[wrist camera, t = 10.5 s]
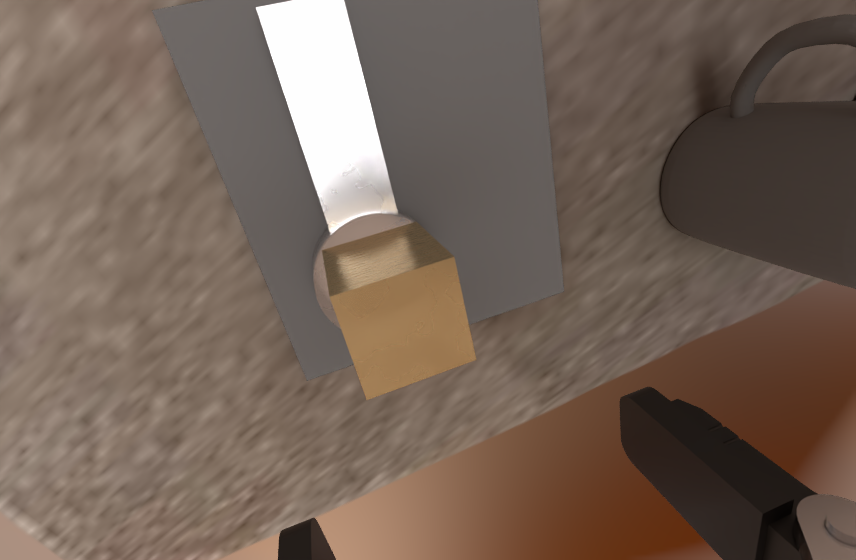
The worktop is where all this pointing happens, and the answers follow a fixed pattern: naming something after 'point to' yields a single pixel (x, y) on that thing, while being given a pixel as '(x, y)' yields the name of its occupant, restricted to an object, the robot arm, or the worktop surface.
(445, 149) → the mat
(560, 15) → the worktop surface
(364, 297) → the wooden toy cube
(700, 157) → the mug
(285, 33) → the ratchet
